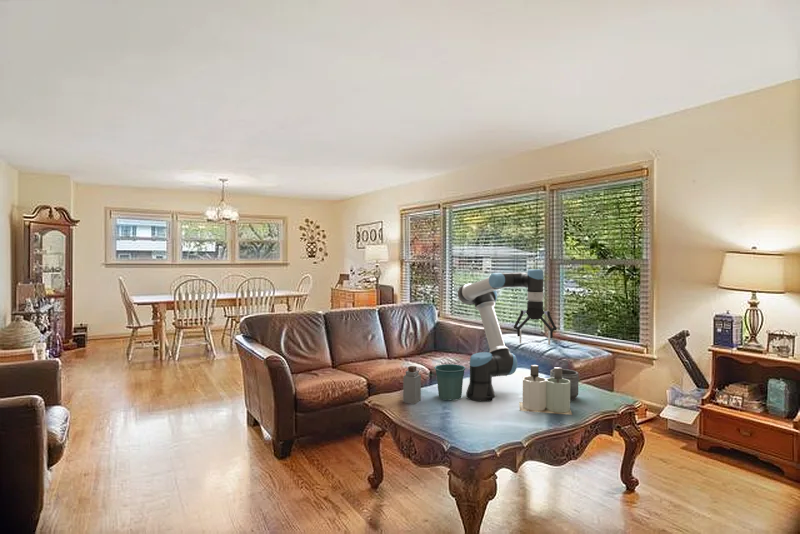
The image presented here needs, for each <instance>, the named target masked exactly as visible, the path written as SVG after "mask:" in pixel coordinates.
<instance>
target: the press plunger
mask: <svg viewBox="0 0 800 534" xmlns="http://www.w3.org/2000/svg"><path fill="white" fill-rule="evenodd" d="M539 373H540V372H539V365H537V364H531V365H530V375H529V376H532V377H533V381H534V382H536V377H540V376H539Z"/></svg>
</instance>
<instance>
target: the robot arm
mask: <svg viewBox="0 0 800 534" xmlns="http://www.w3.org/2000/svg"><path fill="white" fill-rule="evenodd" d="M544 278H545V277H544V270H543V269H542V268H541V269H539V268H538V269H537V268H532V269H531V268H529V269H528V270H527V272H522V271H520V272H519V271H518V272H498V271H497V272H492V273H490V275H489V277H486V278H484V279H481V280H479V281H475V282H473V283H466V284H463V285H461V286H460V287H459V288H458V290H457V297H458V299H459V301H460V302H462V303H463V304H465V305H474V307H475V309H476V310H477V311H478V312H479V316H480V320H481V323H482V325H483V330H484V333H485V337H486V340H487V344H488V348H489V352H487V351H483V352H482V351H480V352H476V353H473V354H471V356H469V357H470V358H469V384H468V385H467V386H468V387H467V389H466V392H465V393H466V395H465V396H466V398H467V399H468V400H470V401H474V402H490V401H491V402H492V401H493V399H494V398H495V397H496V393H495V390H494V387H493V382H492V381H493V378H495V377H503V376H505V377H507V376H510V375H513V374H514V373H515V372H516V370H517V367H518V359H517V356H516V355H515V354H514V352H513V353H512V352H511V351H510V348H509V347H508V346H506V345H505V344H506V343H505V342H504V337H503V333H502V330H501V327H500V324H499V320H498V317H497V313H496V310H495V305H496V302H497V300H498V293H497V290H501V289H505V288H506V289H507V288H509V289H510V288H513V289H514V288H526V289H527V292H526V293H527V294H526V299H527V302H526V303H527V304H526V307H527V308H526V310H523V309H521V310H520V313H519V316H518V318H517V319H516V321H515V324H514V325H513V329H515V330H516V331H517V333H516V334H517V337H519V344H522V327H524V326H525V325H526V323H527V322H528V321H529V320H532V321H534V320H536V321H538V320H540V321H542V323H544V325H545V326H546V327H547V328H548V330H547V332H548V335H547V336H548V337H547V338H548V339H547V340H548V341H547V345H548V346H550V345H551V339H552V338H553V337H554V331H557V330H558V329H557V327H556V324H555V323H554V321H553V319H552V316H551V311H550V310H544V301H543V300H544V281H545V280H544ZM524 315H527V316H526V317H525V319H523V321H522V322H521V320H522V318H523V316H524ZM544 315H545V316H547V317H548V318H547V319H548V321H549V322H550V324H551V326H552V327H551V326H550V324H549V323H548V322H547V321H546V319H545V318H544V317H543V316H544ZM520 322H521V323H520ZM519 323H520V324H519Z"/></svg>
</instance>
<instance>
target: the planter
mask: <svg viewBox="0 0 800 534" xmlns="http://www.w3.org/2000/svg"><path fill="white" fill-rule="evenodd" d="M552 377H553V378H554V368H553V369H550V373H549V378H552ZM562 378H563V379H567V380H570V402H571V401H574V400H576V398H577V397H578V395H579V381H580V380H579V372H578V371H576V370H573V369H567V368H562Z"/></svg>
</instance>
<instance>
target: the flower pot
mask: <svg viewBox="0 0 800 534" xmlns="http://www.w3.org/2000/svg"><path fill="white" fill-rule="evenodd" d="M434 370H435V375H436V380H437V381H436V382H437V391H438V392H437V393H438V398H439V399H441V400H444V401H448V400H449V401H458V400H460V399H462V395H463V394H462V393H463V384H464V383H463V382H464V376H465V370H466V367H465V366H464V365H460V364H455V363H444V364H439V365H435V366H434Z"/></svg>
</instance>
